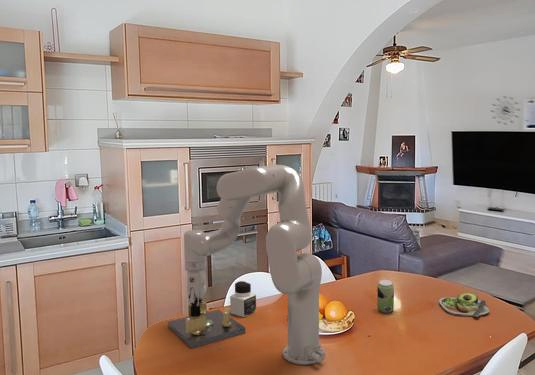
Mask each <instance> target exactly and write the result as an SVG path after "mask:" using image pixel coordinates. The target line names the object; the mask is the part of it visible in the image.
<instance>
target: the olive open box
mask: <svg viewBox="0 0 535 375" xmlns="http://www.w3.org/2000/svg"><path fill="white" fill-rule="evenodd" d="M199 306H200V316H201V315H207V312H208V310H207V302H206V301H202V302H199ZM187 312H188V313H187V314H188V316H187V317H192V316H191V303H190V301H189V302H188V303H187Z"/></svg>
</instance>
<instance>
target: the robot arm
mask: <svg viewBox="0 0 535 375" xmlns="http://www.w3.org/2000/svg"><path fill="white" fill-rule="evenodd" d="M216 192H217V196H218V197H219V198H220V200H219V202H218V204H217V206H216V211H217V213H218V215H219V216H220V217H221V218H223V219H224V220H223V222H222V224H221V226H220V228H219V229H216V230H213V231H209V232H207V233H205V231H203V230H200V229H190V230H187V231H185V232H184V234H183V248H184V249H183V252H184V257H183V258H184V270H185V271H186V273H187V274H186V294H187V299H190V300H189V302H190V303H191V316H192V317H197V316H200V306H199V302H203V297H204V295H205V294H206V293H207V288H208V287H207V285H208V284H207V274H206V270H207V256H212V255H214V254H215V255H216V254H217V253H221V252H223V251H226V250H229V248H231V247H232V245H233V244H234V242H235V240H236V239H237V238H238V236H239V233H240V231H241V225H242V224H241V222H242V221H241V217H242V215H243V213H244V212H245V211H246V208H247V206H248V205H249V203H250V201H251V200H252V199H253V198H254V197H259V196H260V197H261V196H265V195H270V194H274V193H278V194H279V197H278V203H277V208H278V214H279V222H278V223H275V224H274V225H272V226H271V227H270V228H269V229H268V231H267V232H266V237H265V247H266V248H265V250H266V256H267V260H268V267H269V272H270V273H269V274H270V278H271V281H272V283H273V286H274V288H275V289H276V290H277V291H278V292H279V293H281V294H283V295H287V345H286V346H285V347H284V348H283V350H282V356H283V358H284V359H285V360H286V361H287V362H289V363H292V364H295V365H302V366H304V365H313V364H317V363H321V362H322V361H323V359H324V358H325V356H326V353H325V350H324V349H323V348H322V345H321V343H320V290H321V289H320V288H321V284H322V283H321V281H322V275H323V272H322V269H323V268H322V264H321V262H320V260H319V259H318V257H317V256H315V255H314V254H312V253H308V252H302V253H297V252H299V251H301V250H303V249H306V248H307V247H309V245H310V244H311V242H312V239H313V238H312V237H313V236H312V230H311V223H310V218H309V212H308V208H307V204H306V203H307V202H306V195H305V186H304V181H303V178H302V177H301V175H300V174H299V172H297V170H295V169H294V168H292V167H290V166H288V165H285V164H284V165H283V164H269V165H263V166H256V167H250V168H245V169H241V170H238V171H233V172H229V173H228V172H227V173H224V174H223V175H221V176H220V178H219V179H218V181H217V184H216Z"/></svg>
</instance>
